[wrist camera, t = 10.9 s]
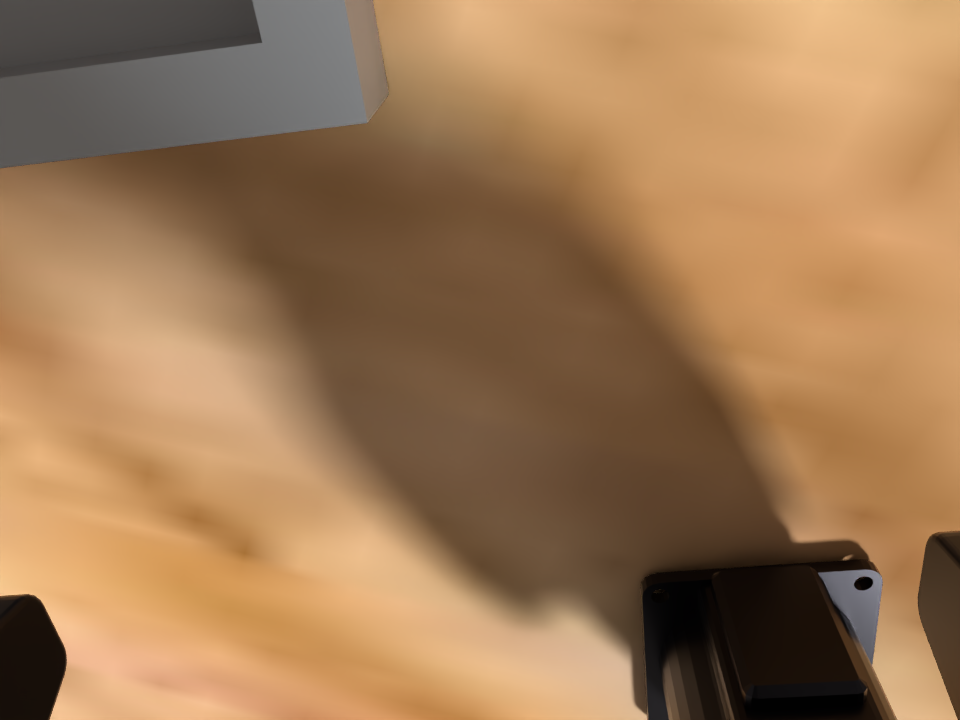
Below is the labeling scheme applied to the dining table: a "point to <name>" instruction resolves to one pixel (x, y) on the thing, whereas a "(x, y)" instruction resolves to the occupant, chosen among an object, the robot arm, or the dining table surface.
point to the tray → (179, 73)
